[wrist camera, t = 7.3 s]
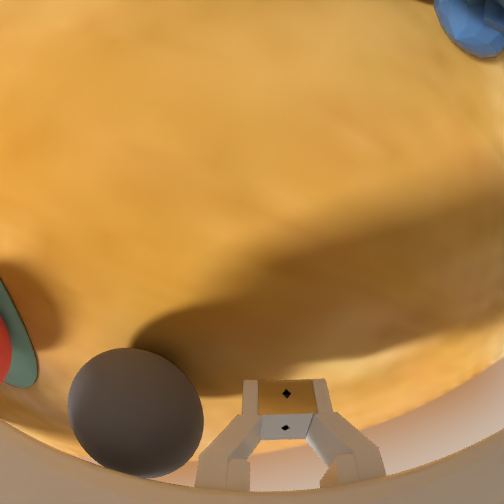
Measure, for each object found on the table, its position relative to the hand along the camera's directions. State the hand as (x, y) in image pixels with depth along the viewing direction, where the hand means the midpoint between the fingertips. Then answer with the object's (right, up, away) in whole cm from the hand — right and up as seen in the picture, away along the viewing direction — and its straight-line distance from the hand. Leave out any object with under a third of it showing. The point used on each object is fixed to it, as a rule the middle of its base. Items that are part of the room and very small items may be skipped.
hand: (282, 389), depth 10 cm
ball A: (-6, -1, -1) cm, 6 cm away
